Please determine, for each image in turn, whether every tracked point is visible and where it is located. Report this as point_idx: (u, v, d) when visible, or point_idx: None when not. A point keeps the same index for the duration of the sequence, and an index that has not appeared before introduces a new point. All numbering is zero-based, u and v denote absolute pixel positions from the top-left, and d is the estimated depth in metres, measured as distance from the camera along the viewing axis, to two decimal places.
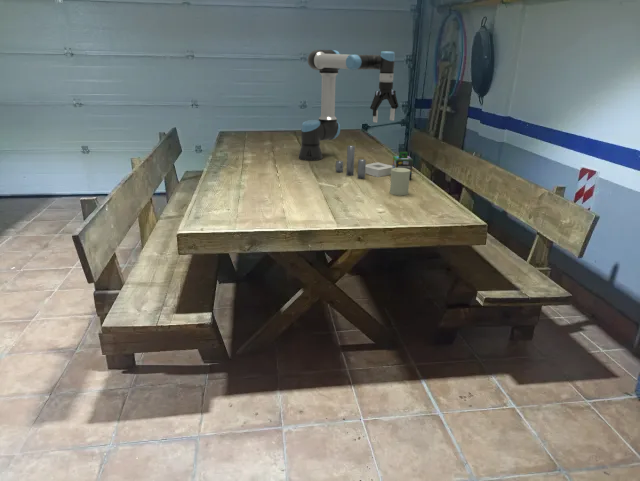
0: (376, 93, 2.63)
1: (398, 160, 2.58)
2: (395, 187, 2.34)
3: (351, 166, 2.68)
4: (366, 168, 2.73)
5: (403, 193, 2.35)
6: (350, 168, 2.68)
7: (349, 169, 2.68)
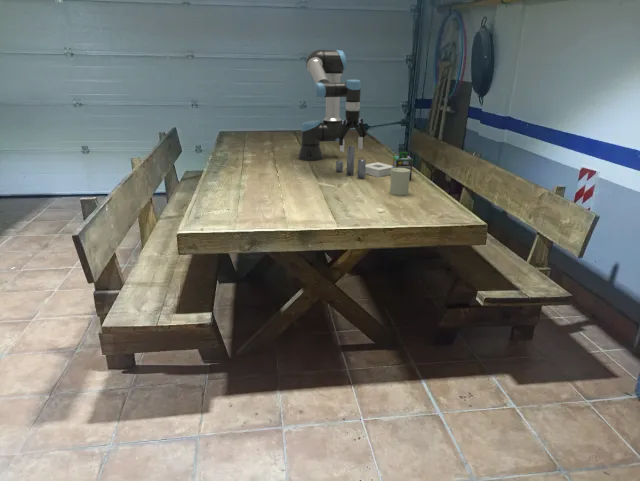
0: (342, 122, 2.56)
1: (398, 160, 2.58)
2: (395, 187, 2.34)
3: (351, 166, 2.68)
4: (366, 168, 2.73)
5: (403, 193, 2.35)
6: (350, 168, 2.68)
7: (349, 169, 2.68)
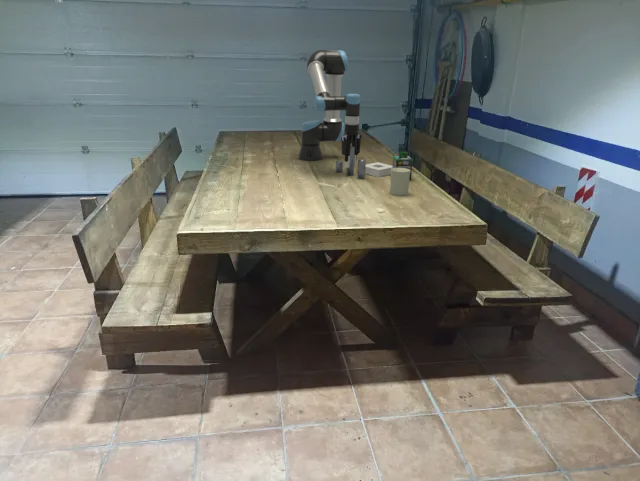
0: (342, 139, 2.60)
1: (398, 160, 2.58)
2: (395, 187, 2.34)
3: (351, 166, 2.68)
4: (366, 168, 2.73)
5: (403, 193, 2.35)
6: (350, 168, 2.68)
7: (349, 169, 2.68)
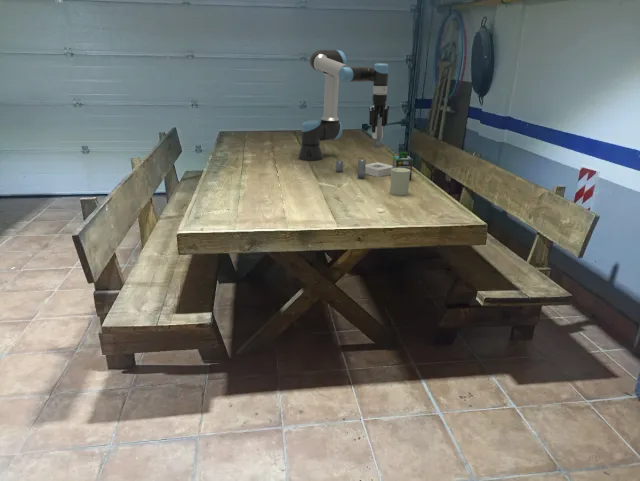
0: (370, 110, 2.59)
1: (398, 160, 2.58)
2: (395, 187, 2.34)
3: (378, 137, 2.66)
4: (366, 168, 2.73)
5: (403, 193, 2.35)
6: (377, 139, 2.67)
7: (376, 140, 2.67)
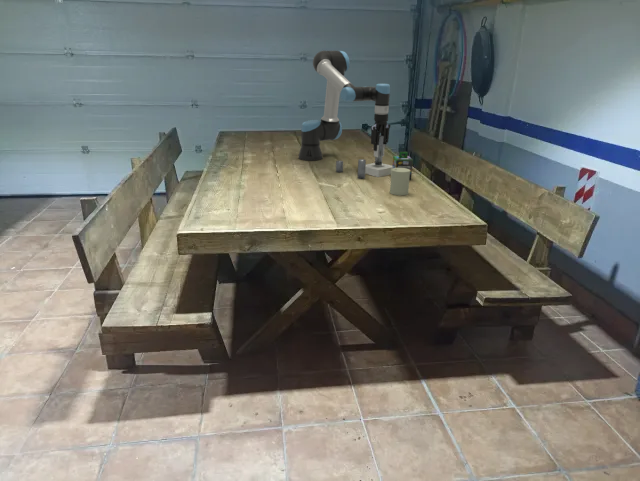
0: (372, 129, 2.64)
1: (398, 160, 2.58)
2: (395, 187, 2.34)
3: (380, 155, 2.71)
4: (366, 168, 2.73)
5: (403, 193, 2.35)
6: (379, 157, 2.71)
7: (378, 158, 2.71)
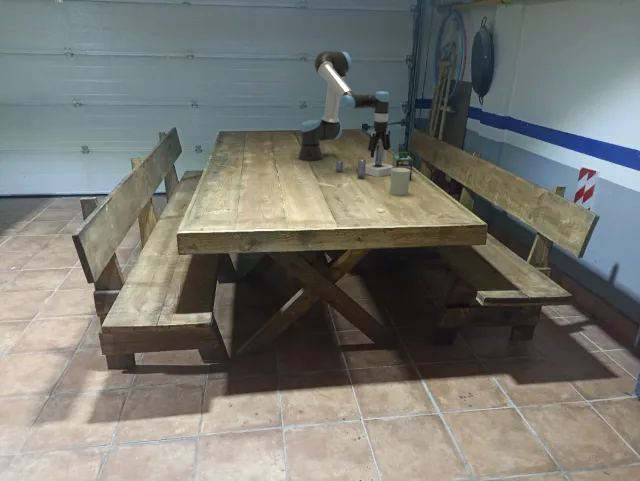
0: (371, 135, 2.65)
1: (398, 160, 2.58)
2: (395, 187, 2.34)
3: (379, 164, 2.73)
4: (366, 168, 2.73)
5: (403, 193, 2.35)
6: (378, 166, 2.73)
7: None
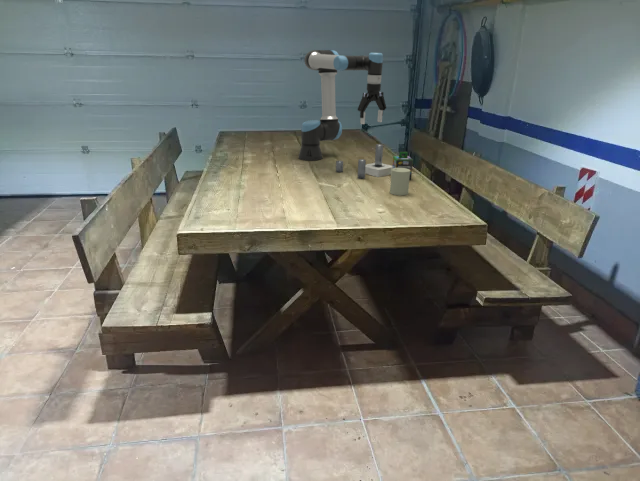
0: (364, 95, 2.62)
1: (398, 160, 2.58)
2: (395, 187, 2.34)
3: (379, 164, 2.73)
4: (366, 168, 2.73)
5: (403, 193, 2.35)
6: (378, 166, 2.73)
7: None
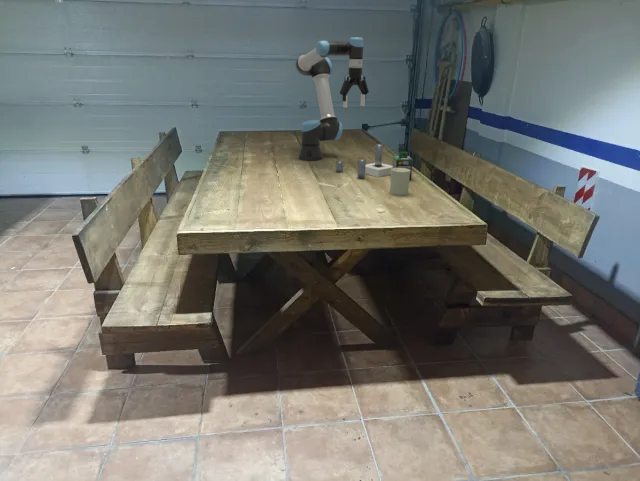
0: (345, 79, 2.68)
1: (398, 160, 2.58)
2: (395, 187, 2.34)
3: (379, 164, 2.73)
4: (366, 168, 2.73)
5: (403, 193, 2.35)
6: (378, 166, 2.73)
7: None
